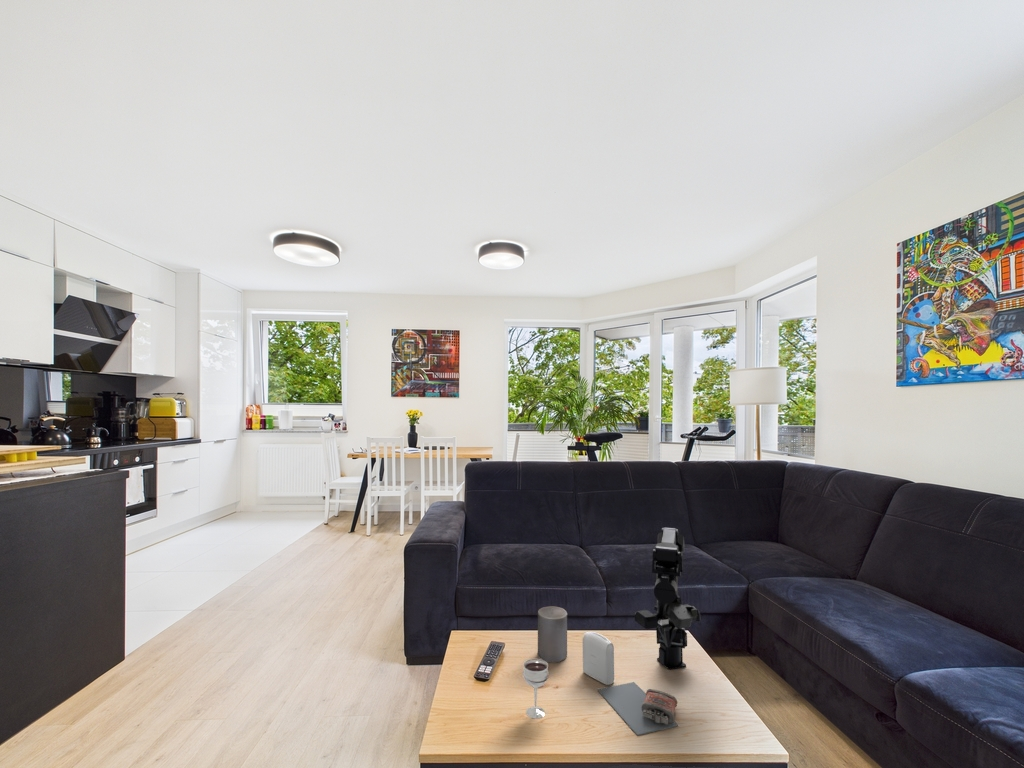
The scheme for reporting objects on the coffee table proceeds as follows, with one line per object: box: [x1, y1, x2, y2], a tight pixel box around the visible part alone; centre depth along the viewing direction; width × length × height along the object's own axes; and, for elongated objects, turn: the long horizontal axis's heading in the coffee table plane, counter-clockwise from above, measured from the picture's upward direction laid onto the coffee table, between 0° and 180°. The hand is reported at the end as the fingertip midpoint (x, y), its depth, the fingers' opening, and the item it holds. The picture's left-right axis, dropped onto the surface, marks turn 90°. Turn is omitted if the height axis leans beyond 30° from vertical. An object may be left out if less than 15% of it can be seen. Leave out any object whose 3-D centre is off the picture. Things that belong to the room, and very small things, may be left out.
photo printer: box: [582, 631, 615, 686], centre depth 140 cm, size 10×4×12 cm, turn 39°
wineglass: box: [522, 658, 550, 719], centre depth 124 cm, size 7×7×12 cm
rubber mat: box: [597, 681, 679, 737], centre depth 126 cm, size 12×20×1 cm, turn 18°
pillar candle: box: [537, 605, 568, 663], centre depth 153 cm, size 10×10×15 cm
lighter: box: [642, 688, 678, 724], centre depth 122 cm, size 8×3×10 cm
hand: (667, 646), depth 135 cm, fingers closed
